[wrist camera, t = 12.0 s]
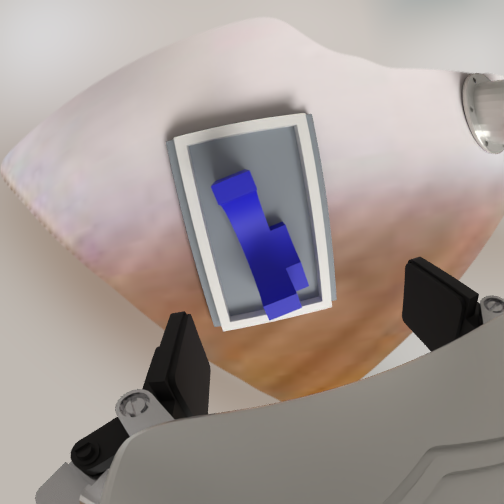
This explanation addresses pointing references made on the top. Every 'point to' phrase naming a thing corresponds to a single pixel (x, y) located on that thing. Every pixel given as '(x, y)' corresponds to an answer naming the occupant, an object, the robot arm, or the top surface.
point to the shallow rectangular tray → (273, 205)
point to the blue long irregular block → (262, 245)
